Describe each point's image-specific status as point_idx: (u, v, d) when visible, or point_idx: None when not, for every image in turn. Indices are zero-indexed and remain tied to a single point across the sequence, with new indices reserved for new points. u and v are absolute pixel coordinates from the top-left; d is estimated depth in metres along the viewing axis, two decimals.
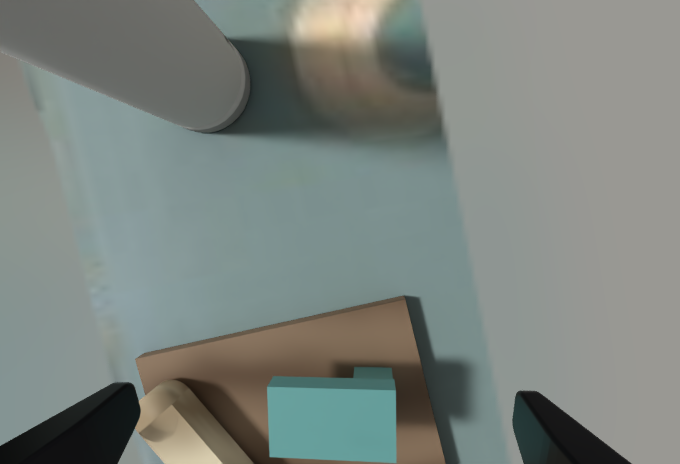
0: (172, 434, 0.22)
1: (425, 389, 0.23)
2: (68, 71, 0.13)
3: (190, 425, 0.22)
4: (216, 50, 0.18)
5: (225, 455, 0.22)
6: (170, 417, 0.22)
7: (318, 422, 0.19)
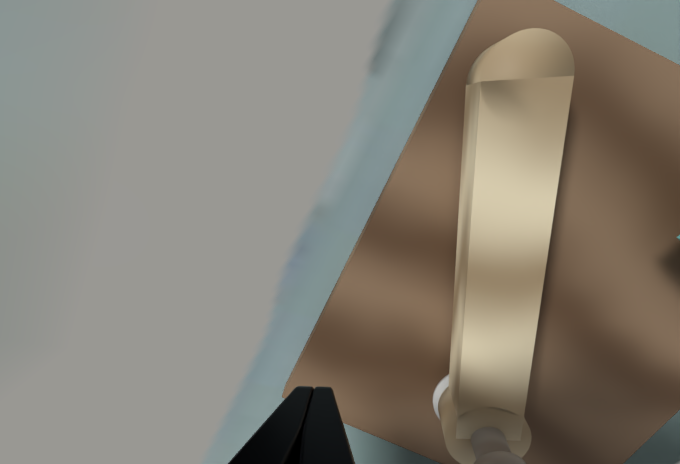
0: (528, 122, 0.12)
1: None
2: None
3: (563, 129, 0.12)
4: None
5: None
6: (552, 93, 0.12)
7: None
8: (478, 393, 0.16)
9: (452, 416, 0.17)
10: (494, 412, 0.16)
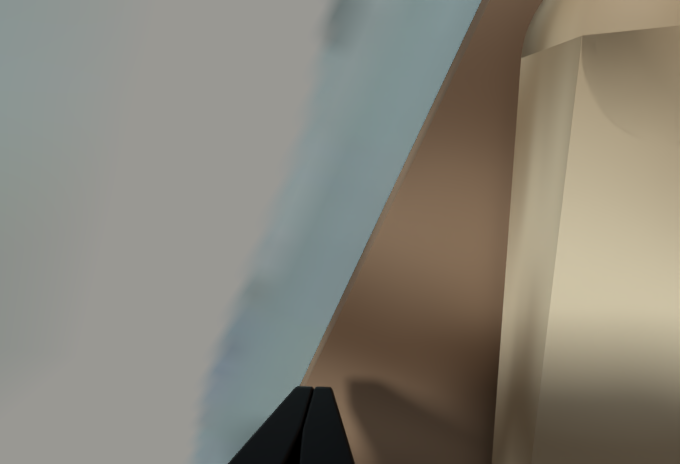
0: None
1: None
2: None
3: None
4: None
5: None
6: None
7: None
8: None
9: None
10: None
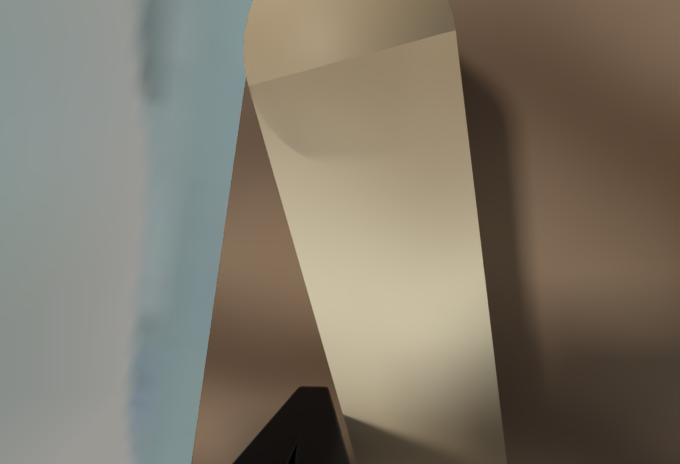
0: (381, 156, 0.05)
1: None
2: None
3: (466, 157, 0.05)
4: None
5: None
6: (417, 82, 0.05)
7: None
8: None
9: None
10: None
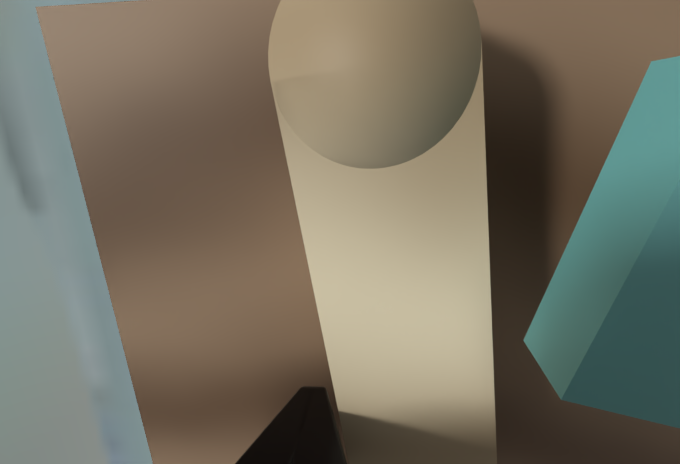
0: (397, 161, 0.05)
1: None
2: None
3: (481, 167, 0.05)
4: None
5: None
6: (439, 89, 0.05)
7: None
8: None
9: None
10: None
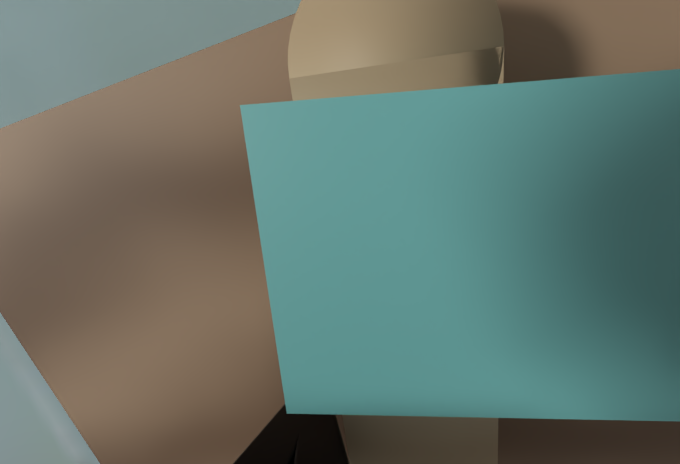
0: None
1: None
2: None
3: None
4: None
5: None
6: None
7: (509, 268, 0.04)
8: None
9: None
10: None
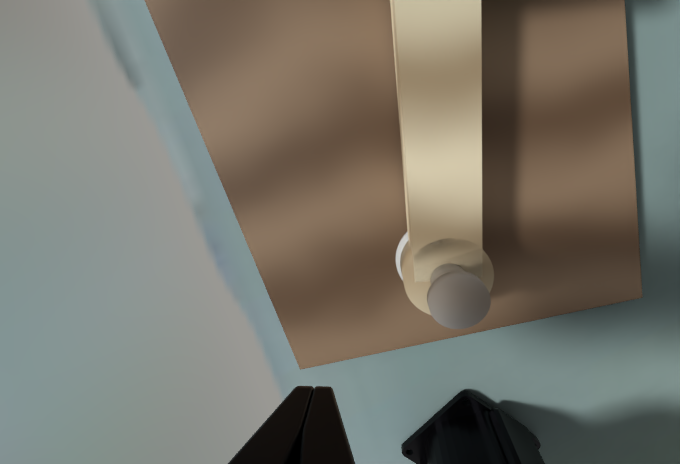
0: None
1: None
2: None
3: None
4: None
5: None
6: None
7: None
8: (431, 223, 0.15)
9: (409, 258, 0.16)
10: (451, 244, 0.15)
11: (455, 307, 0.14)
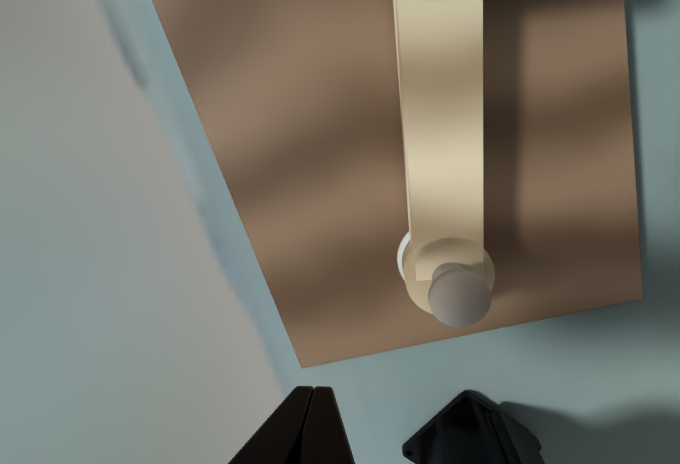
0: None
1: None
2: None
3: None
4: None
5: None
6: None
7: None
8: (432, 222, 0.15)
9: (410, 257, 0.16)
10: (452, 243, 0.16)
11: (456, 305, 0.14)
